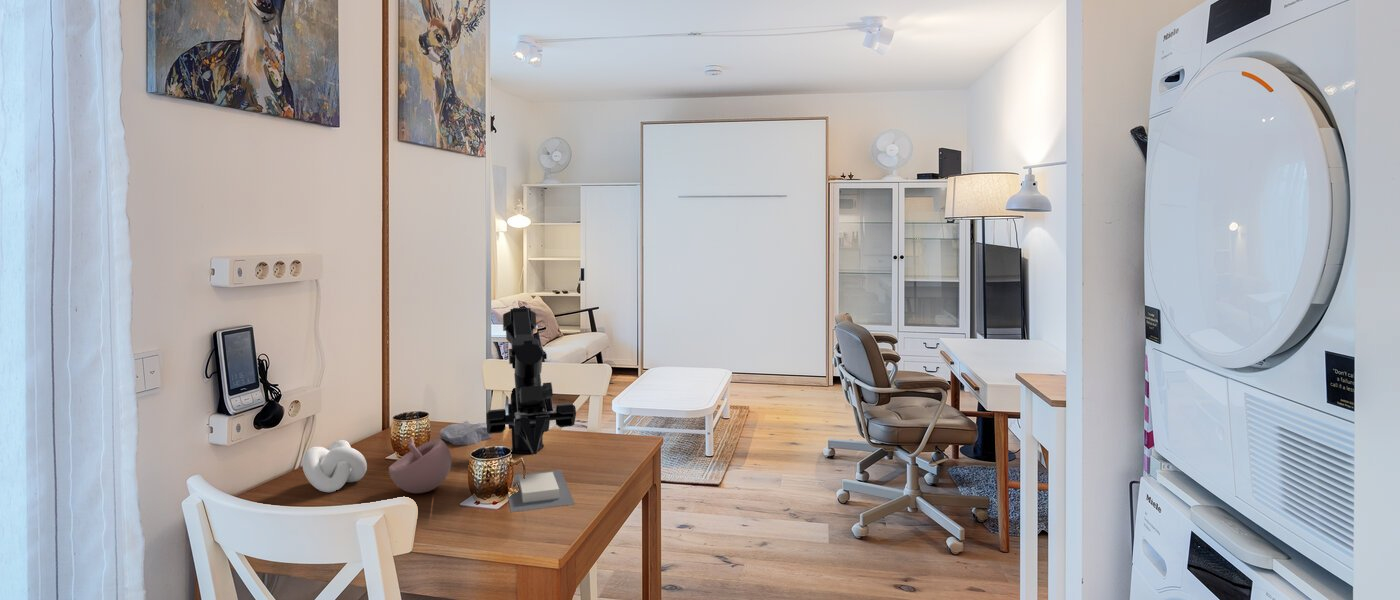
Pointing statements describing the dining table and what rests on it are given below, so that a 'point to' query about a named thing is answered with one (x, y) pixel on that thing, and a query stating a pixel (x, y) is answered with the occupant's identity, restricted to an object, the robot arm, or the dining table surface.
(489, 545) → the dining table surface
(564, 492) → the mat
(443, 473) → the mortar and pestle
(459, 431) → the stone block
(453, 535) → the dining table surface
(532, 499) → the tile
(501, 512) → the dining table surface
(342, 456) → the white knot sculpture
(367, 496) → the dining table surface
